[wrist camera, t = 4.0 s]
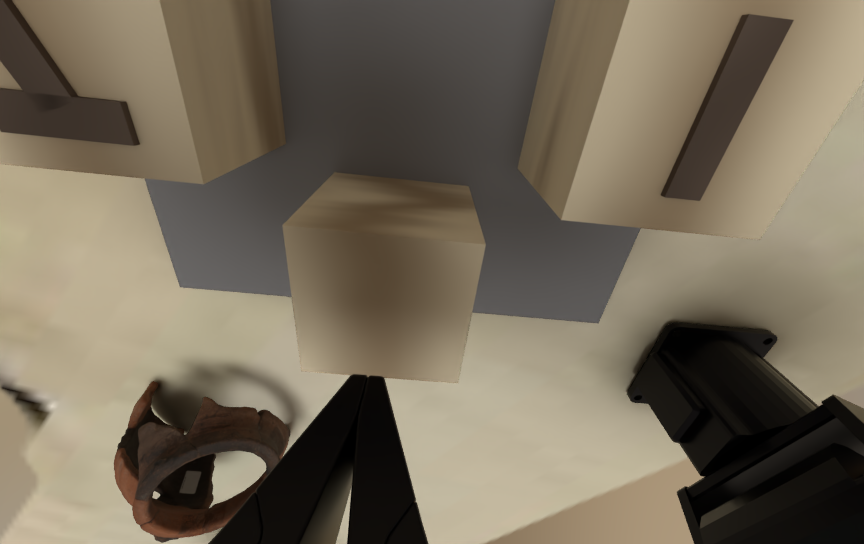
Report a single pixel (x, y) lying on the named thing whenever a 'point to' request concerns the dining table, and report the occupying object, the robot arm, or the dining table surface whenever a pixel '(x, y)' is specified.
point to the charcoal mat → (401, 150)
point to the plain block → (384, 277)
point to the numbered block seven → (138, 86)
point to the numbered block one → (687, 108)
